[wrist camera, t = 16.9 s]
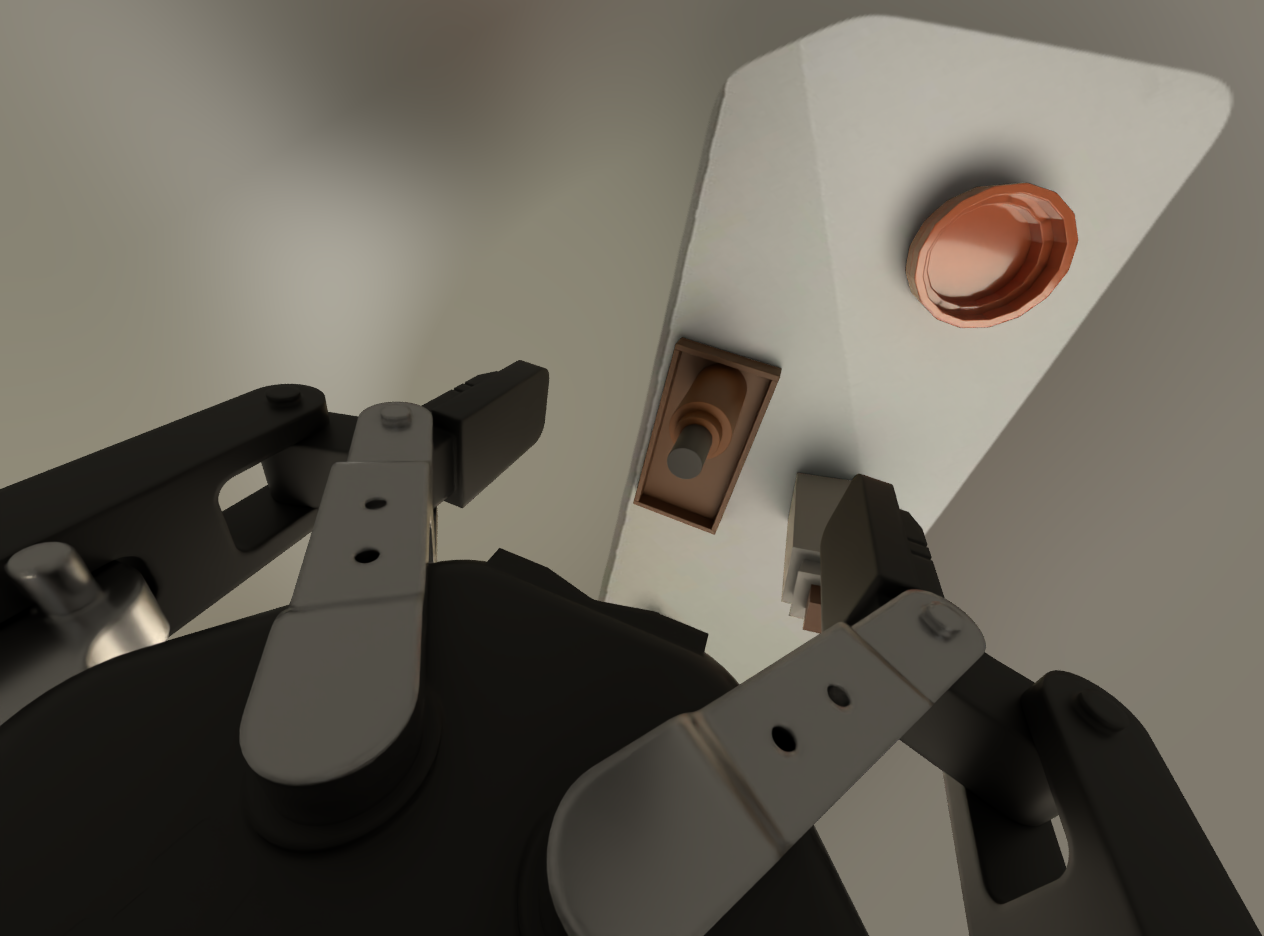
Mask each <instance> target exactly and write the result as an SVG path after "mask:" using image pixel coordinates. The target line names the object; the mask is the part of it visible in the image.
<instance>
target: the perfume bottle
mask: <svg viewBox="0 0 1264 936" xmlns="http://www.w3.org/2000/svg"><path fill="white" fill-rule="evenodd" d="M850 483H851V480H844V479H837V478H830V477H823V476H817V475H810V474H803V473H797V476H796V481H795V487H794V492H793V497H792V502H791V507H790V513H789V518H788V526H787V538H786V550H785V563H784V575H783V587H782V600H781V602H785V603H790V604H791V608H790V612H789V616H792V617H796V618H801V619H804V623H803V630H807V631H812V632H816V633H821V575H820V543H821V539H822V535H823V532H824V530H825V527H826V525H827V523H828V521H829V519H830V518H831V516H832V514H833V512H834V511H835V509H836V507H837V505H838V504H839V502H840V500H841V498H842V497H843V495H844V493H845V491H846V490H847V488H848V486H849V484H850Z"/></svg>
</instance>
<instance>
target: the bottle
mask: <svg viewBox="0 0 1264 936" xmlns="http://www.w3.org/2000/svg"><path fill="white" fill-rule="evenodd" d="M746 394H747V384H746V381H745V378H744V376H743V375H742V373H741V372H740V371H739V370H738V369H736V368H733V367H729V366H726V365H723V364H720V363H717V364H712V365H709V366H707V367H706V368H704V369H703V370H702V371H701V372H700V373H699V375H698V376H697V378H696V379H695V381H694V382H693V384H692V385H691V387H690V389H689V390H688V392H687V393H686V395H685V396H684V398H683V400H682V401H681V403H680V404H679V406H678V407H677V409H676V410H675V412H674V414H673V415H672V417H671V420H670V424H669V433H670V437H671V439H672V441H673V443H674V446H673V448H672V450H671V451H670V453H669V455H668V457H667V466H668V468H669V470H670V471H671V473H672V474H673V475H675V476H676V477H678V478H681V479H692V478H695V477H696V476H698V475H699V473H700V472H701V470H702V467H703V465H704V463H705V460H706V459H711V458H714V457H716V456H718V455H720V454H721V453H723V452H724V451H725V450H726V449H727V447H728V446H729V444H730V442H731V439H732V436H733V433H734V430H735V427H736V424H737V421H738V418H739V415H740V412H741V409H742V406H743V403H744V400H745V397H746Z"/></svg>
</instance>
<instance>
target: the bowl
mask: <svg viewBox="0 0 1264 936" xmlns="http://www.w3.org/2000/svg"><path fill="white" fill-rule="evenodd" d="M1077 243H1078V235H1077V228H1076V221H1075V214H1074V213H1073V211H1072V210H1071V209H1070V208H1069V206H1068V205H1067V204H1066V203H1065V202H1064V201H1063V200H1062V198H1061V197H1060V196H1059V195H1058V194H1057V193H1056V192H1054V191H1051V190H1048V189H1045V188H1042V187H1039V186H1036V185H1033V184H1030V183H1014V184H999V185H990V186H980V187H975V188H973V189H971V190H968V191H966V192H964V193H962V194H960V195H958V196H956V197H953V198H951V199H949V200H948V201H946V202H945V203H944V204H943V205H942V206H940V207H939V208H938V209H937V210H936V211H935V212H934V213H933V214H932V215H931V216H929V217H928V218H927V219H926V220H925V221H924V222H923V224H922V226H921V227H920V229H919V231H918V233H917V234H916V236H915V238H914V239H913V241H912V243H911V245H910V247H909V252H908V258H907V264H906V270H905V271H906V276H907V279H908V283H909V287H910V290H911V292H912V294H913V295H914V296H915V297H916V298H917V299H918V300H919V301H920V302H921V304H922V305H923V306H924V307H925V308H926V309H927V310H928V311H929V312H930V313H931V314H932V315H933V316H934V317H935V318H936V319H938V320H940V321H943V322H946V323H948V324H951V325H954V326H957V327H959V328H980V327H991V326H994V325H997V324H1000V323H1003V322H1006V321H1009V320H1012V319H1015V318H1018V317H1019V316H1021V315H1023V314H1024V313H1026V312H1027V311H1029V310H1030V309H1031V308H1033V307H1034V306H1036V305H1037V304H1039V303H1040V302H1041V301H1043V300H1044V299H1046V298H1047V297H1048V296H1049V295H1050V294H1051V292H1052V291H1053V290H1054V288H1055V287H1056V286H1057V285H1058V283H1059V282H1060V281H1061V280H1062V278H1063V277H1064V276H1065V275H1066V273H1067V272H1068V270H1069V268H1070V265H1071V262H1072V259H1073V256H1074V252H1075V249H1076V246H1077Z"/></svg>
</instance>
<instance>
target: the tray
mask: <svg viewBox="0 0 1264 936" xmlns="http://www.w3.org/2000/svg"><path fill="white" fill-rule="evenodd" d="M717 363H720V364H723V365H726V366H729V367H733V368H736V369H738V370H739V371H740V372H741V373H742V375H743V376H744V378H745V381H746V384H747V394H746V397H745V400H744V403H743V406H742V409H741V412H740V415H739V418H738V421H737V424H736V427H735V430H734V433H733V436H732V439H731V442H730V444H729V446H728V447H727V449H726V450H725V451H724V452H723V453H721V454H720V455H718V456H716V457H714V458H711V459H706V460H705V463H704V465H703V467H702V470H701V472H700V473H699V475H698V476H696V477H695V478H692V479H681V478H678V477H676V476H675V475H673V474H672V473H671V471H670V470H669V468H668V466H667V457H668V455H669V453H670V451H671V450H672V448H673V446H674V443H673V441H672V439H671V437H670V433H669V424H670V420H671V417H672V415H673V414H674V412H675V410H676V409H677V407H678V406H679V404H680V403H681V401H682V400H683V398H684V396H685V395H686V393H687V392H688V390H689V389H690V387H691V385H692V384H693V382H694V381H695V379H696V378H697V376H698V375H699V373H700V372H701V371H702V370H703V369H704V368H706V367H707V366H709V365H712V364H717ZM780 374H781V368H778V367H775V366H772V365H768V364H765V363H762V362H759V361H756V360H753V359H749V358H746V357H743V356H740V355H737V354H734V353H730V352H727V351H724V350H721V349H718V348H714V347H711V346H708V345H705V344H702V343H699V342H695V341H692V340H689V339H686V338H683V337H682V338H681V339H680V340H679V341H678V342H677V343H676V345H675V349H674V352H673V356H672V360H671V363H670V367H669V371H668V375H667V378H666V382H665V386H664V390H663V393H662V397H661V401H660V405H659V408H658V412H657V416H656V420H655V423H654V427H653V431H652V435H651V438H650V442H649V446H648V450H647V453H646V457H645V461H644V465H643V468H642V472H641V476H640V480H639V484H638V487H637V491H636V495H635V499H634V502H633V504H636V505H638V506H641V507H643V508H646V509H649V510H651V511H654V512H656V513H659V514H662V515H664V516H667V517H669V518H672V519H675V520H677V521H680V522H683V523H685V524H688V525H690V526H693V527H696V528H698V529H701V530H703V531H706V532H709V533H711V534H714V535H715V533H716V530H717V528H718V526H719V523H720V521H721V518H722V516H723V513H724V511H725V509H726V506H727V504H728V501H729V499H730V497H731V494H732V492H733V489H734V487H735V484H736V482H737V480H738V477H739V475H740V472H741V470H742V468H743V465H744V463H745V460H746V458H747V455H748V453H749V451H750V448H751V446H752V443H753V441H754V439H755V436H756V434H757V431H758V429H759V426H760V424H761V422H762V419H763V417H764V414H765V412H766V410H767V407H768V405H769V402H770V400H771V397H772V395H773V393H774V390H775V388H776V385H777V383H778V380H779V378H780Z"/></svg>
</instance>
